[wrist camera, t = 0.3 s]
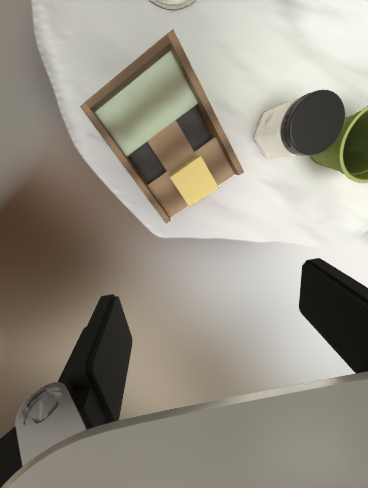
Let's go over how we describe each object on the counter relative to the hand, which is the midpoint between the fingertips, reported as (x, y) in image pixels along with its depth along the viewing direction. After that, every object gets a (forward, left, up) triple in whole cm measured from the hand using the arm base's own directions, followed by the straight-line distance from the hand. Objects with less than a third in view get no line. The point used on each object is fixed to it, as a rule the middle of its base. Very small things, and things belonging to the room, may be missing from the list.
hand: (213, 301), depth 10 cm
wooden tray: (-8, +4, -35) cm, 36 cm away
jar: (+1, +22, -35) cm, 42 cm away
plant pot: (+9, +30, -35) cm, 48 cm away
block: (-1, +4, -32) cm, 32 cm away
